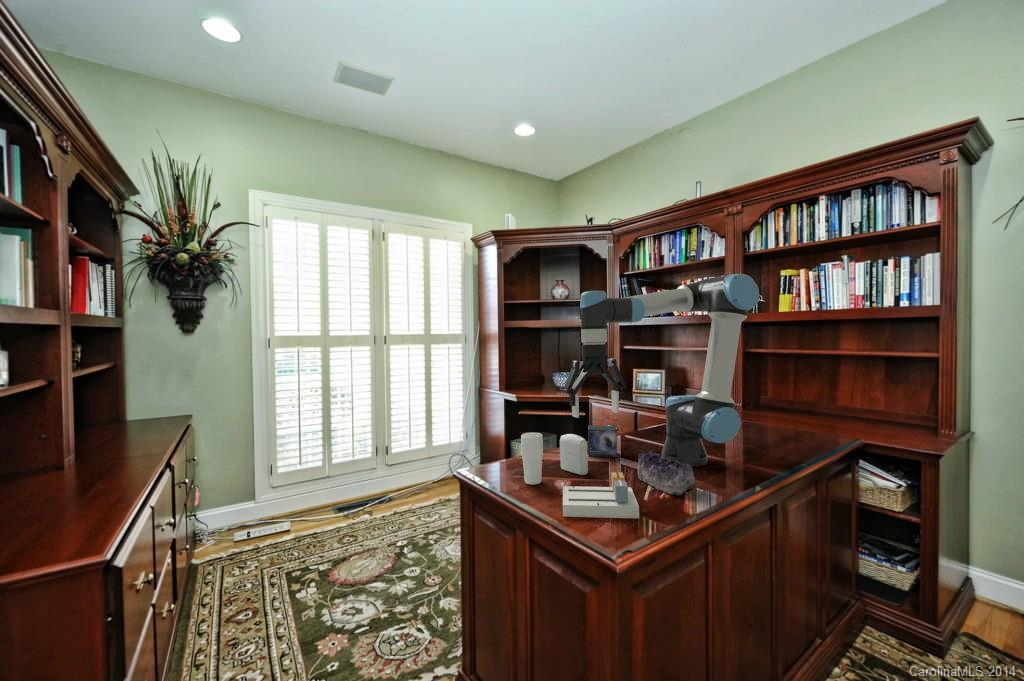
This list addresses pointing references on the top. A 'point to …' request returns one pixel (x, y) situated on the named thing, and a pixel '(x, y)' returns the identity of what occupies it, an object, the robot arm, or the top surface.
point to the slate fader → (620, 491)
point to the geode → (665, 473)
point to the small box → (602, 441)
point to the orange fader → (616, 478)
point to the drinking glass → (532, 457)
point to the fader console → (597, 503)
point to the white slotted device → (573, 454)
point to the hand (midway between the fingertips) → (595, 414)
